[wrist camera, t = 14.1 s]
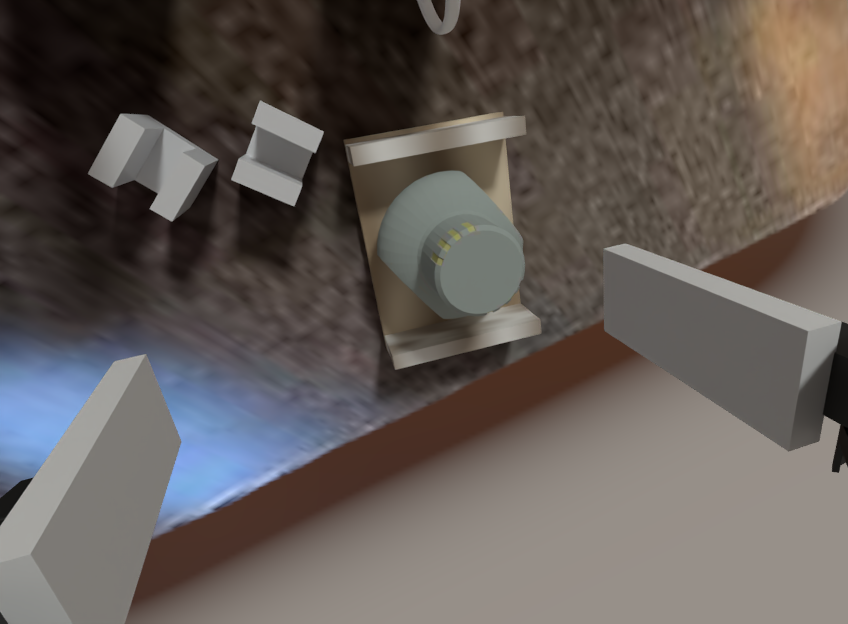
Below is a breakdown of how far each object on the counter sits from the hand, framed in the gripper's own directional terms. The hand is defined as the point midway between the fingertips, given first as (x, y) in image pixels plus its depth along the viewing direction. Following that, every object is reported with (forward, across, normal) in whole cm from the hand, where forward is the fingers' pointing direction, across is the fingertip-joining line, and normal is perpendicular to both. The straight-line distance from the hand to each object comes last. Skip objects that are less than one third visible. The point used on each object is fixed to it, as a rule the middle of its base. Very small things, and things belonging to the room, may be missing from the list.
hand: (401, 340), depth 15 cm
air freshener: (+25, +8, -4) cm, 27 cm away
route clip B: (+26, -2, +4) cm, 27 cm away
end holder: (+26, +8, -4) cm, 28 cm away
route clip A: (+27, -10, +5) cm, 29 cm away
